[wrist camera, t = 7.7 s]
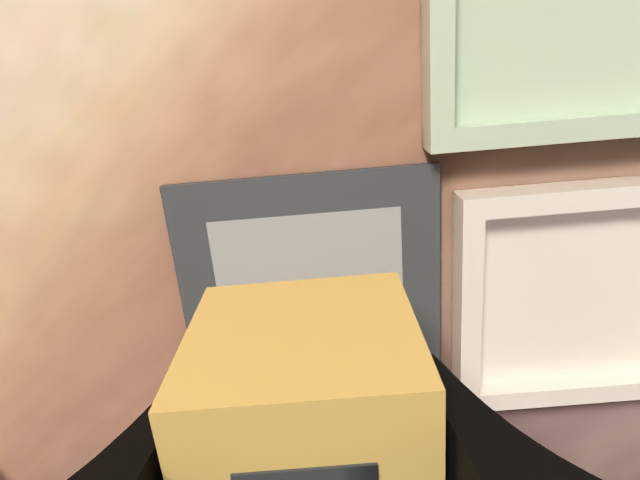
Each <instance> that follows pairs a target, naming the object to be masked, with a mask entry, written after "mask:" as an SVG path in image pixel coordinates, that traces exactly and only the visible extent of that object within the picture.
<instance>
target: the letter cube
mask: <svg viewBox="0 0 640 480" xmlns="http://www.w3.org/2000/svg"><path fill="white" fill-rule="evenodd" d="M148 416H149V421H150V425H151V429H152V433H153V437H154V442H155V446H156V450H157V454H158V458H159V463H160V467H161V471H162V475H163V479H164V480H445V449H446V390H445V387H444V385H443V383H442V380H441V378H440V375H439V373H438V370H437V368H436V365H435V363H434V361H433V358H432V356H431V353H430V351H429V348H428V346H427V343H426V341H425V339H424V336H423V334H422V331H421V329H420V326H419V324H418V321H417V319H416V317H415V314H414V312H413V309H412V307H411V304H410V302H409V299H408V297H407V295H406V292H405V290H404V287H403V285H402V282H401V280H400V277H399V275H398V273H397V272H390V273H378V274H366V275H353V276H341V277H329V278H316V279H304V280H292V281H279V282H267V283H254V284H242V285H230V286H217V287H207V288H206V290H205V292H204V294H203V296H202V298H201V300H200V303H199V305H198V307H197V309H196V311H195V313H194V316H193V318H192V320H191V322H190V324H189V326H188V328H187V331H186V333H185V335H184V337H183V339H182V341H181V343H180V346H179V348H178V350H177V352H176V354H175V356H174V359H173V361H172V363H171V365H170V367H169V369H168V371H167V374H166V376H165V378H164V380H163V382H162V384H161V386H160V389H159V391H158V393H157V395H156V397H155V399H154V401H153V404H152V406H151V408H150V410H149V412H148Z"/></svg>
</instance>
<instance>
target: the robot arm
mask: <svg viewBox="0 0 640 480" xmlns="http://www.w3.org/2000/svg"><path fill="white" fill-rule="evenodd" d="M431 356H432V358H433V361H434V363H435V365H436V368H437V370H438V373H439V375H440V378H441V380H442V383H443V385H444V387H445V390H446V449H445V480H602V479H600V478H598V477H596V476H594V475H592V474H590V473H588V472H586V471H584V470H583V469H581V468H579V467H577V466H575V465H574V464H572V463H570V462H568V461H566V460H565V459H563V458H561V457H560V456H558V455H556V454H555V453H553V452H551V451H550V450H548V449H546V448H545V447H543V446H542V445H540V444H539V443H537V442H536V441H534V440H533V439H531V438H530V437H528V436H527V435H525V434H524V433H522V432H521V431H519V430H518V429H517V428H515V427H514V426H513V425H511V424H510V423H509V422H507V421H506V420H505V419H504V418H502V417H501V416H500V415H498V414H497V413H496V412H495V411H493V410H492V409H491V408H490V407H489V406H487V405H486V404H485V403H484V402H483V401H482V400H481V399H480V398H478V397H477V396H476V395H475V394H474V393H473V392H472V391H471V390H470V389H468V388H467V387H466V386H465V385H464V384H463V383H462V382H461V381H460V380H459V379H458V378H457V377H456V376H455V375H454V374H453V373H452V372H451V371H450V370H449V369H448V368H447V367H446V366H445V365H444V364H443V363H442V362H441V361H440V360H439V359H438V358H437V357H436V356H435V355H433V354H431ZM152 404H153V403H152ZM152 404H151V405H150V406H149V407H148V408H147V409H146V410H145V411H144V412H143V413H142V414H141V415H140V416H139V417H138V418H137V419H136V420H135V421H134V422H133V423H132V424H131V425H130V426H129V427H128V428H127V429H126V430H125V431H124V432H123V433H122V434H120V435H119V436H118V437H117V438H116V439H115V440H114V441H113V442H112V443H111V444H109V445H108V446H107V447H106V448H105V449H104V450H103V451H102V452H101V453H100V454H98V455H97V456H96V457H95V458H94V459H92V460H91V461H90V462H89V463H88V464H86V465H85V466H84V467H83V468H81V469H80V470H79V471H77V472H76V473H75V474H74V475H72V476H71V477H70V478H68V479H67V480H164V479H163V475H162V471H161V467H160V463H159V458H158V454H157V450H156V446H155V442H154V437H153V433H152V429H151V425H150V421H149V416H148V412H149V410H150V408H151V406H152Z"/></svg>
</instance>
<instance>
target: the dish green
mask: <svg viewBox="0 0 640 480" xmlns="http://www.w3.org/2000/svg"><path fill="white" fill-rule="evenodd" d="M421 76H422V148H423V149H424V150H426V151H427V152H428V153H429V154H443V153H455V152H467V151H479V150H491V149H503V148H515V147H527V146H539V145H551V144H563V143H575V142H586V141H598V140H610V139H622V138H634V137H640V0H421Z"/></svg>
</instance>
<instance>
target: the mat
mask: <svg viewBox="0 0 640 480" xmlns="http://www.w3.org/2000/svg"><path fill="white" fill-rule="evenodd" d="M159 188H160V193H161V198H162V203H163V208H164V214H165V219H166V224H167V229H168V234H169V239H170V245H171V250H172V255H173V260H174V265H175V270H176V276H177V281H178V286H179V291H180V296H181V301H182V307H183V312H184V317H185V322H186V327H187V328H188V326H189V324H190V322H191V320H192V318H193V316H194V313H195V311H196V309H197V307H198V305H199V303H200V300H201V298H202V296H203V294H204V292H205V290H206V288H207V287H217V286H230V285H242V284H254V283H267V282H279V281H292V280H304V279H316V278H329V277H341V276H353V275H366V274H378V273H390V272H397V273H398V275H399V277H400V280H401V282H402V285H403V287H404V290H405V292H406V295H407V297H408V299H409V302H410V304H411V307H412V309H413V312H414V314H415V317H416V319H417V321H418V324H419V326H420V329H421V331H422V334H423V336H424V339H425V341H426V343H427V346H428V348H429V351H430V353H431V354H433V355H435V356H436V357H437V358H438V359H439V360H440V163H438V162H433V163H421V164H409V165H397V166H385V167H373V168H361V169H349V170H337V171H325V172H313V173H301V174H289V175H277V176H265V177H253V178H241V179H229V180H217V181H205V182H193V183H181V184H169V185H162V186H160V187H159Z"/></svg>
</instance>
